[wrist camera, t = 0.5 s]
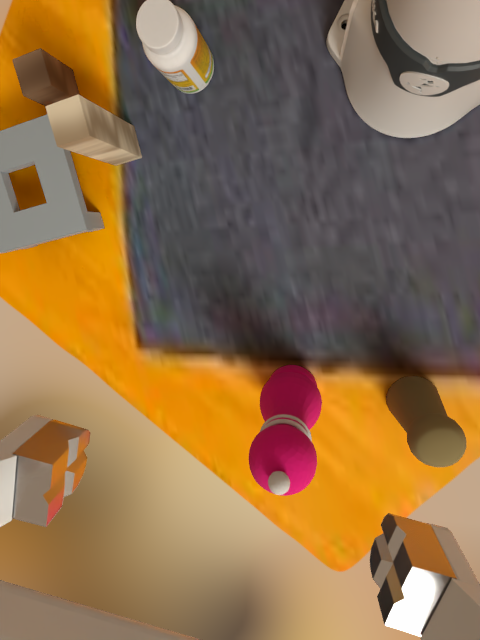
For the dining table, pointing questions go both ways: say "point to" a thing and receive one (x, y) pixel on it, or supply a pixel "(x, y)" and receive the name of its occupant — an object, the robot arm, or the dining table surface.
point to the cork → (426, 422)
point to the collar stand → (57, 183)
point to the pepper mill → (286, 432)
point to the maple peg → (92, 131)
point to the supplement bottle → (175, 45)
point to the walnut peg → (44, 78)
